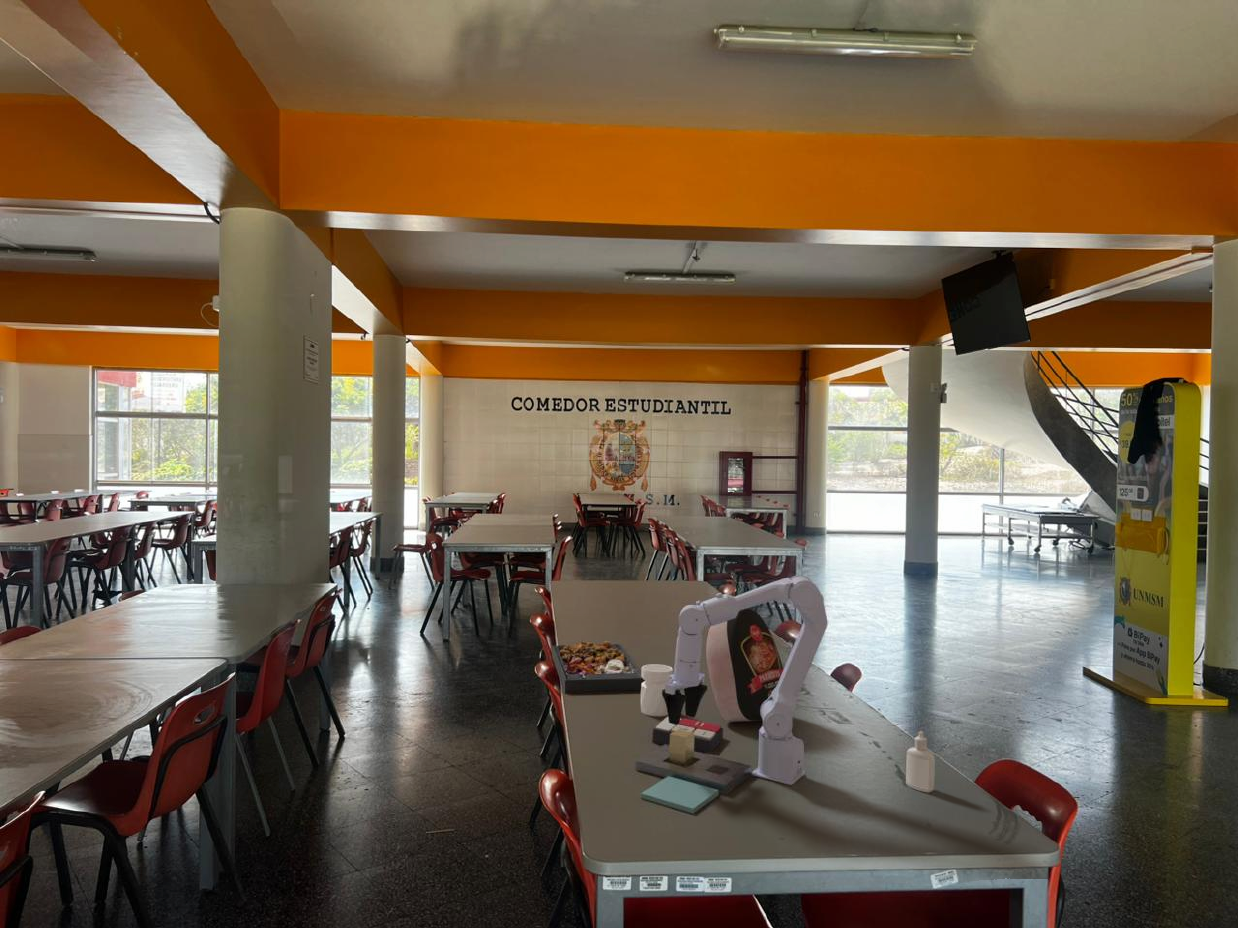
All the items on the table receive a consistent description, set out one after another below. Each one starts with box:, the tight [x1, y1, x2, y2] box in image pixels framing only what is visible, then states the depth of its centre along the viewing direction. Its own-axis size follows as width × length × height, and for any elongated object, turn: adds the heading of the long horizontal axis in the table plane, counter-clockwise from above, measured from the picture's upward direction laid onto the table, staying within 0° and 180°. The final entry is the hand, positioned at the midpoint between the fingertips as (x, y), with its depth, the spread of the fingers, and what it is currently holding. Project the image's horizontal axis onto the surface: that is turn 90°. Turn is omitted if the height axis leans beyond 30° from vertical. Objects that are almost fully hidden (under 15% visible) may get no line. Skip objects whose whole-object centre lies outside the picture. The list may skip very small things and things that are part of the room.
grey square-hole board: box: [635, 744, 753, 795], centre depth 174 cm, size 22×13×2 cm, turn 56°
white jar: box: [640, 663, 674, 717], centre depth 216 cm, size 9×9×12 cm
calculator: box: [651, 716, 724, 753], centre depth 194 cm, size 11×4×15 cm
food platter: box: [551, 640, 645, 694], centre depth 256 cm, size 45×25×10 cm, turn 10°
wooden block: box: [669, 729, 695, 768], centre depth 175 cm, size 4×4×8 cm
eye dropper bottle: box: [905, 730, 936, 793], centre depth 168 cm, size 4×6×12 cm
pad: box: [640, 776, 720, 815], centre depth 161 cm, size 12×11×1 cm
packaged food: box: [705, 607, 784, 723], centre depth 213 cm, size 22×20×30 cm
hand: (682, 719), depth 176 cm, fingers open, 7 cm apart
